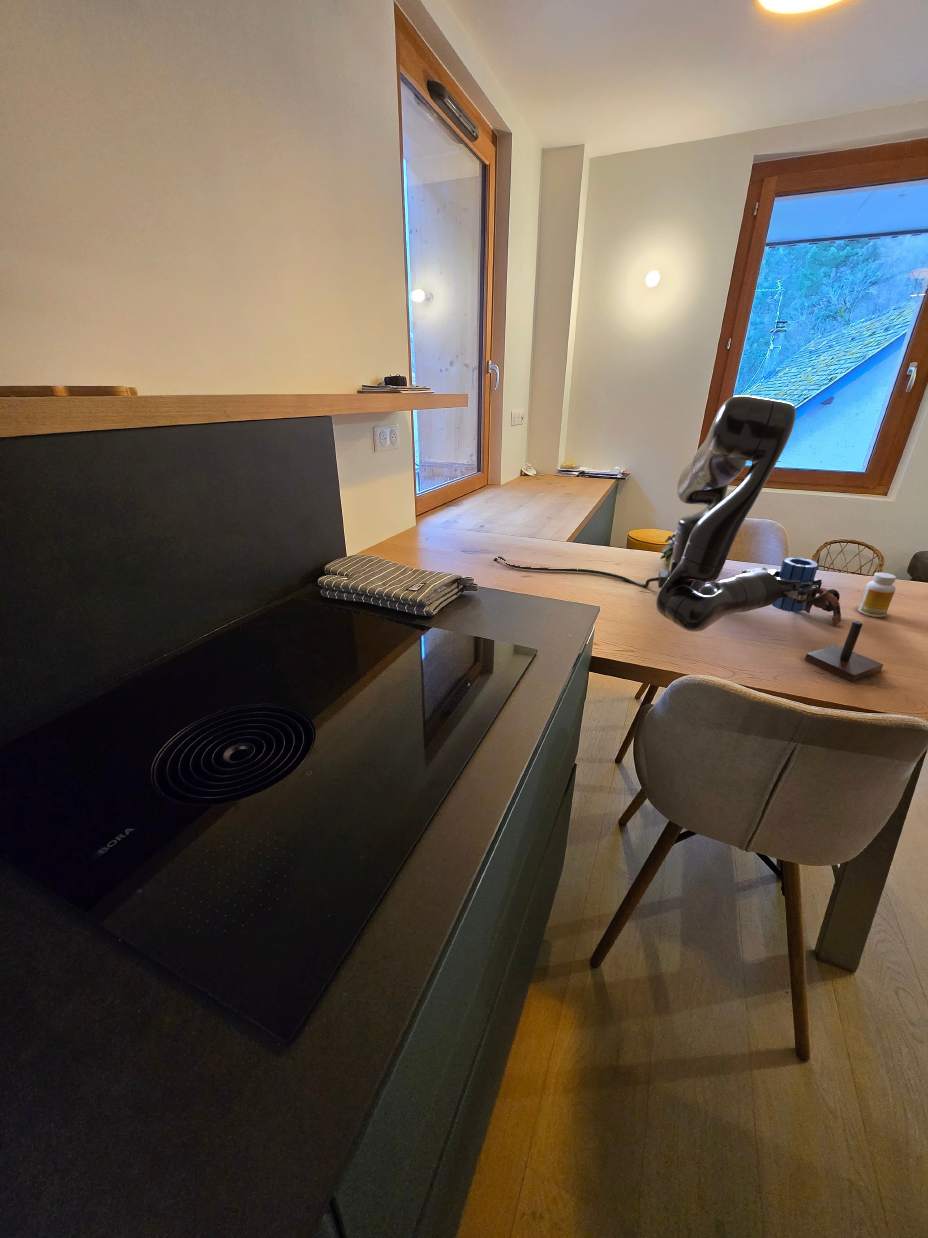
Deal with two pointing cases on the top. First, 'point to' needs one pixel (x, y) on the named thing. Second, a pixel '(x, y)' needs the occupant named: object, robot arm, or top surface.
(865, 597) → the supplement bottle
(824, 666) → the stand
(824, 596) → the brown curved piece
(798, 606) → the fluted pencil holder
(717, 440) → the robot arm
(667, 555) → the passion flower
